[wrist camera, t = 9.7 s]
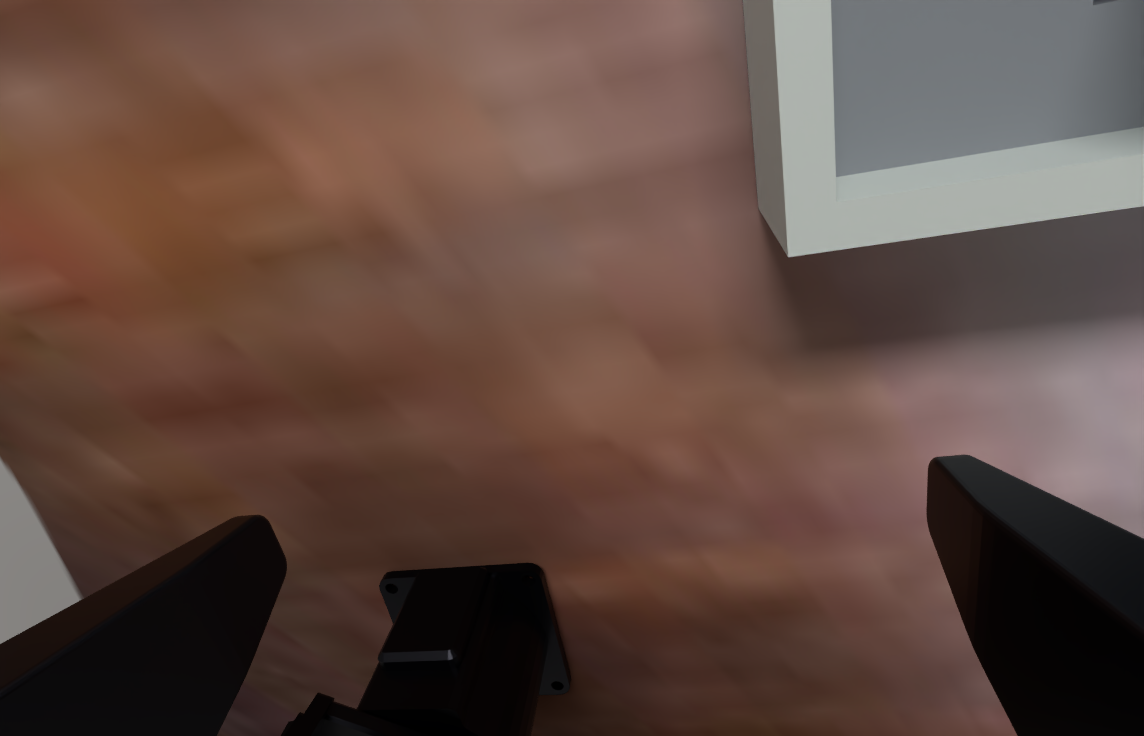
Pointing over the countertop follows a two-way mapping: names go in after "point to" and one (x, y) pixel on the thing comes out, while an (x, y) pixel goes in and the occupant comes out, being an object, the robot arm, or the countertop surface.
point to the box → (941, 115)
